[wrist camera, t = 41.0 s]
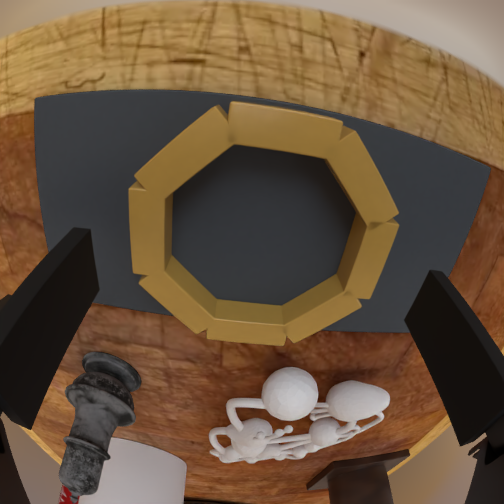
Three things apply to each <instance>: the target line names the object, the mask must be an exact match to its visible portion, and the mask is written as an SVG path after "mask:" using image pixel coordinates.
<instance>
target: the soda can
mask: <svg viewBox="0 0 504 504" xmlns="http://www.w3.org/2000/svg"><path fill="white" fill-rule="evenodd" d="M70 496H72V492H70V491H69V490H68V488H67V487H65V486H64V485H62V489H61V493H60V497H59V504H73V503H72V501H71V498H70ZM79 498H80V496H78V500H79ZM78 502H79V501H77V502H76V503H74V504H78Z"/></svg>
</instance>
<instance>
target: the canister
mask: <svg viewBox="0 0 504 504" xmlns="http://www.w3.org/2000/svg"><path fill="white" fill-rule="evenodd" d="M108 454H109V455H110V456H111V458H110V459H109V460H106V461H104V464H103V468H102V473H101V477H100V482H99V486H98V490H97V492H96V493H94V494H92V495H82V496H80V498H79V502H78V504H183V501H184V490H185V480H186V470H187V465H186V463H185V462H184V461H183V460H181V459H180V458H178V457H176V456H175V455H173V454H170V453H168V452H166V451H163V450H161V449H158V448H155V447H152V446H149V445H145V444H142V443H138V442H134V441H130V440H126V439H120V438H114V437H111V440H110V444H109V448H108Z"/></svg>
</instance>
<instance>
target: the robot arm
mask: <svg viewBox="0 0 504 504" xmlns="http://www.w3.org/2000/svg"><path fill="white" fill-rule="evenodd" d="M99 290H100V287H99V282H98V276H97V270H96V264H95V257H94V251H93V243H92V235H91V229H87V228H78V227H73V228H72V229H71V230H70V231H69V232H68V233H67V234H66V235H65V236H64V237H63V238H62V239H61V240H60V241H59V242H58V243H57V245H56V246H55V247H54V248H53V249H52V250H51V251H50V252H49V253H48V254H47V255H46V256H45V257H44V258H43V260H42V261H41V262H40V263H39V264H38V265H37V266H36V267H35V269H34V270H33V271H32V272H31V273H30V274H29V275H28V277H27V278H26V279H25V280H24V281H23V283H22V284H21V285H20V286H19V287H18V289H17V290H16V291H15V292H14V294H13V295H9V294H8V295H7V296H5V297H4V298H2V299H1V300H0V416H1V414H2V412H4V413H5V414H6V415H7V416H8V418H9V419H10V420H11V421H13V422H14V423H16V424H19V425H21V426H23V427H25V428H27V429H29V430H31V429H32V426H33V423H34V421H35V418H36V416H37V414H38V411H39V409H40V406H41V404H42V402H43V399H44V397H45V395H46V392H47V390H48V388H49V386H50V384H51V381H52V379H53V377H54V375H55V373H56V371H57V369H58V367H59V364H60V362H61V360H62V358H63V356H64V354H65V352H66V350H67V348H68V346H69V345H70V343H71V341H72V339H73V337H74V335H75V333H76V331H77V329H78V327H79V326H80V324H81V322H82V320H83V318H84V317H85V315H86V313H87V311H88V309H89V308H90V306H91V304H92V302H93V301H94V299H95V297H96V296H97V294H98V292H99ZM404 322H405V324H406V325H407V327H408V329H409V331H410V333H411V335H412V337H413V339H414V341H415V343H416V345H417V347H418V349H419V351H420V353H421V355H422V357H423V359H424V361H425V364H426V366H427V368H428V370H429V372H430V374H431V376H432V379H433V381H434V383H435V385H436V388H437V390H438V392H439V394H440V397H441V399H442V401H443V404H444V406H445V409H446V411H447V413H448V416H449V418H450V421H451V423H452V426H453V428H454V431H455V434H456V436H457V439H458V442H459V444H460V446H463V445H465V444H468V443H471V442H473V441H475V440H476V439H477V438H478V437H480V436H481V435H482V434H483V433H486V435H487V437H486V438H485V439H483V440H482V441H481V442H479V443H478V444H477V445H476V446H474V447H473V448H472V449H471V450H470V451H469V453H468V455H471V454H472V453H474V452H475V451H476V450H477V449H480V450H479V451H478V452H477V453H475V454H474V455H473V457H474V458H476V459H477V464H476V467H475V471H474V475H473V478H472V482H471V485H470V489H469V492H468V495H467V498H466V501H465V504H504V356H503V354H502V353H501V351H500V349H499V348H498V346H497V345H496V344H495V342H494V341H493V339H492V338H491V336H490V335H489V333H488V332H487V330H486V329H485V327H484V326H483V325H482V323H481V322H480V320H479V319H478V317H477V316H476V315H475V313H474V312H473V310H472V309H471V308H470V306H469V305H468V304H467V302H466V301H465V300H464V298H463V297H462V296H461V294H460V293H459V292H458V290H457V289H456V288H455V287H454V285H453V284H452V283H451V282H450V280H449V279H448V278H447V277H446V275H445V274H444V273H443V272H442V271H436V270H429V272H428V274H427V276H426V278H425V280H424V282H423V284H422V286H421V288H420V290H419V292H418V294H417V296H416V298H415V300H414V302H413V304H412V306H411V308H410V310H409V311H408V313H407V315H406V317H405V319H404ZM0 504H30V501H29V499H28V497H27V494H26V492H25V490H24V487H23V484H22V482H21V479H20V477H19V474H18V471H17V468H16V465H15V462H14V459H13V456H12V453H11V450H10V446H9V443H8V439H7V435H6V432H5V428H4V424H3V422H2V420H1V418H0Z"/></svg>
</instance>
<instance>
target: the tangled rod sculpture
mask: <svg viewBox="0 0 504 504" xmlns="http://www.w3.org/2000/svg"><path fill="white" fill-rule="evenodd" d="M318 394H319V393H318V388H317V383H316V382H315V380H314V379H313V377H312V376H311V375H310V374H309V373H308V372H307V371H304V370H302V369H299V368H296V367H285V368H282V369H279V370H277V371H275V372H274V373H272V374H271V375H270V376H269V377H268V379H267V380H266V381H265V383H264V385H263V388H262V396H261V398H262V399H258V398H233V399H230V400H228V401H227V404H226V411H227V415H228V417H229V419H230V422H231V423H232V424H230V425H228V426H227V427H216V428H213V429H211V430H210V432H209V440H210V443H211V444H212V446H213V447H214V449H216V450H214V449H213V450H210V453H211V454H213V455H215V456H217V457H219V459H220V461H222V462H223V463H230V462H237V461H242V460H245V461H246V462H248V463H255V462H257V460H266V459H271V458H275V459H276V460H283V459H285V458H288V459H302V458H303V457H305V455H306V453H309V452H310V453H311V452H316V451H318V450H319V449H321V448H324V447H327V446H330V445H333V444H337V443H340V442H343V441H346V440H348V439H350V438H352V437H353V436H354V435H356V434H358V433H360V432H362V431H364V430H366V429H368V428H370V427H372V426H374V425H375V424H377V423H379V422H381V421H382V420H383V418H384V414H383V413H382V412H381V411H383V410H384V409H385V408H386V407H388V405H389V402H390V396H389V393H388V392H387V391H385V390H384V389H382V388H380V387H377V386H374V385H370V384H366V383H362V382H359V381H354V380H349V381H345V382H341V383H339V384H336V385H334V386H333V387H332V388H331V389H330V390H329V392H328V394H327V397H326V403H317V400H318ZM235 407H249V408H260V409H266V410H267V411H268V412H269V413H270V414H271V415H272V416H274V417H276V418H278V419H280V420H286V421H294V420H299V419H301V418H303V417H305V416H307V415H308V414H309V413H311V414H310V419H311V420H312V421H314V423H313V424H312V425H311V426H310V429H309V433H308V434H301V435H293V436H285V437H281V436H283V435H284V434H285V433H291V432H292V431H293V427H292V426H291V425H287V426H286V427H285V428H284V430H282V429H277V430H276V431H275V433H273V434H272V427H271V425H270V423H269V422H267V421H266V420H263V419H260V418H251V419H248V420H245V421H242V422H241V421H240V419H239V418H238V416H237V414H236V410H235ZM314 407H326V408H321V409H314ZM324 412H327V413H324ZM317 413H322V414H317ZM375 414H376V415H377V416H379V417H378V418H377V419H376V420H374V421H372V422H371V423H369V424H367V425H365V426H363V427H361V428H360V427H359V426H358V425H356V422H357V420H361V419H365V418H369V417H371V416H373V415H375ZM328 416H333V417H334V418H336V419H338V420H342V421H346V422H348V423H347V424H346V425H345V426H342V427H340V425H339V423H338V422H337V421H336V420H335V419H332V418H330V417H328ZM350 430H354V431H351V432H349V431H350ZM347 432H348V433H347ZM218 434H224V435H227V436H228V437H229V438H231V444H232V445H230V446H228V447H226V448H224V447H223V446H221V445H220V444H219V443H218V441H217V437H216V435H218ZM338 438H340V439H338ZM291 441H294V442H291ZM282 442H290V443H287V444H283V445H280V444H278V443H282ZM289 448H292V449H289ZM287 454H293V455H294V456H290V455H287Z"/></svg>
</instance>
